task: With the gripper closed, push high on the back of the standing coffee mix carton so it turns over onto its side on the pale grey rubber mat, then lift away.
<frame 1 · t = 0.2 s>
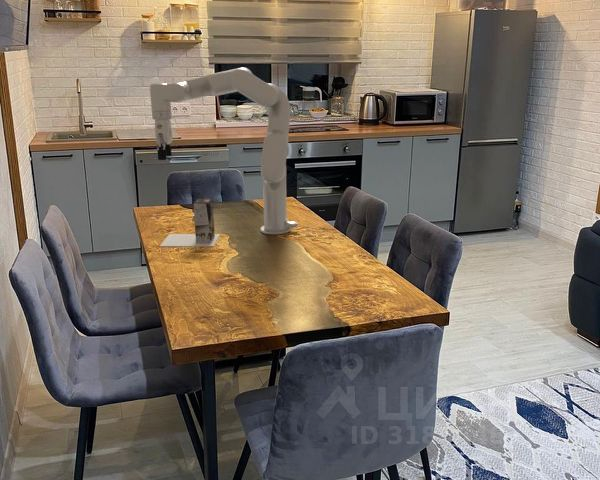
hand: (165, 157, 241), 31 cm above the table, tool pointing down, fingers open, 9 cm apart
coffee box: (205, 240, 237), resting on mat
mat: (190, 240, 237), on the table
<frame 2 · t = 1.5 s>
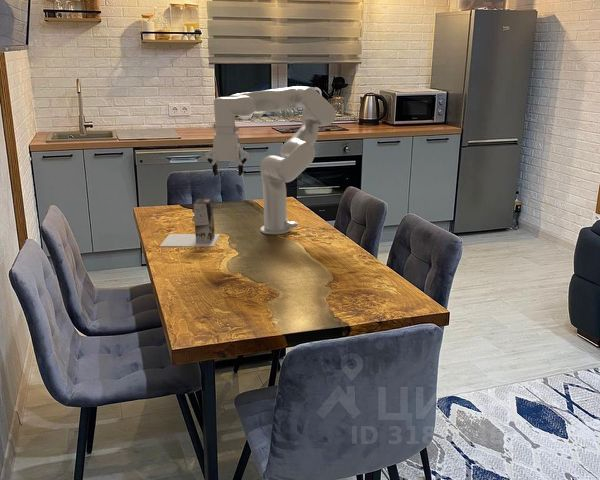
hand: (228, 175, 230), 26 cm above the table, tool pointing down, fingers open, 9 cm apart
nothing on the table moved.
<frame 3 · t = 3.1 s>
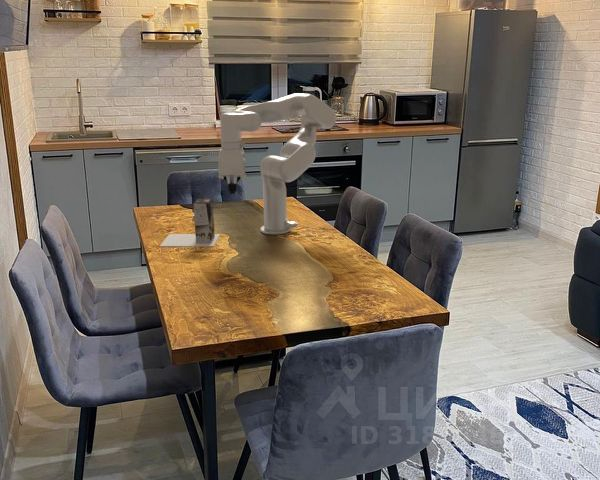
hand: (232, 193, 231), 19 cm above the table, tool pointing down, fingers closed
nothing on the table moved.
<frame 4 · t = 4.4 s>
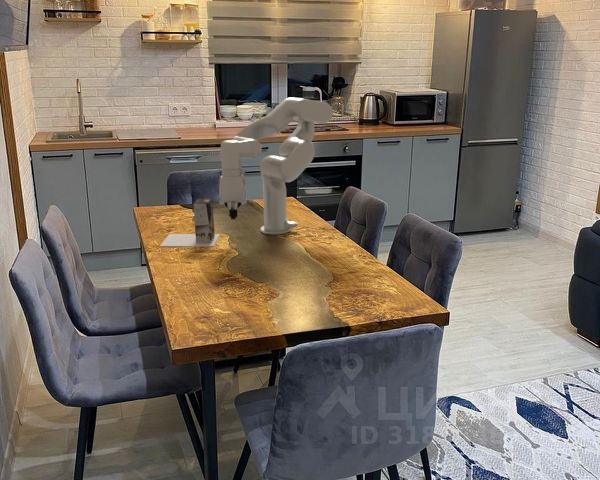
hand: (233, 218, 234), 9 cm above the table, tool pointing down, fingers closed
nothing on the table moved.
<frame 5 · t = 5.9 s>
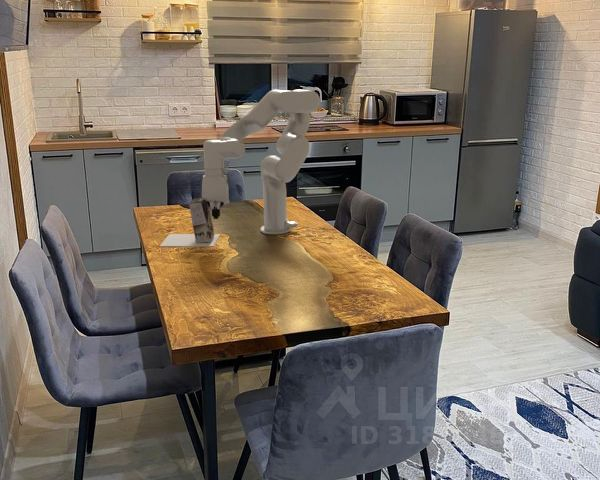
hand: (216, 218, 234), 9 cm above the table, tool pointing down, fingers closed
coffee box: (205, 239, 237), resting on mat, touching gripper
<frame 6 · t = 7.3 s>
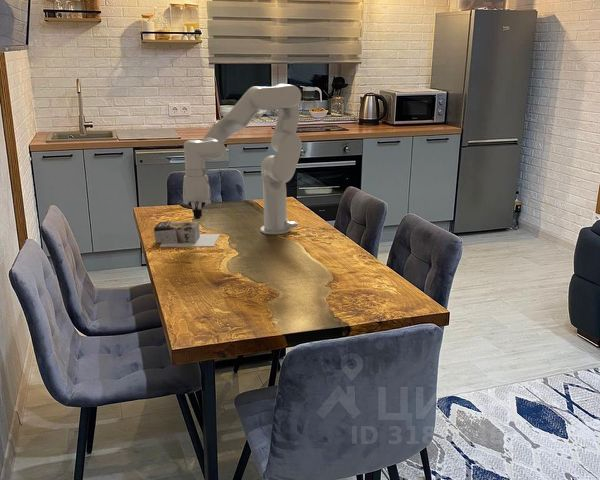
hand: (197, 218, 234), 9 cm above the table, tool pointing down, fingers closed
coffee box: (198, 232, 236), point 3 cm above the table, touching mat
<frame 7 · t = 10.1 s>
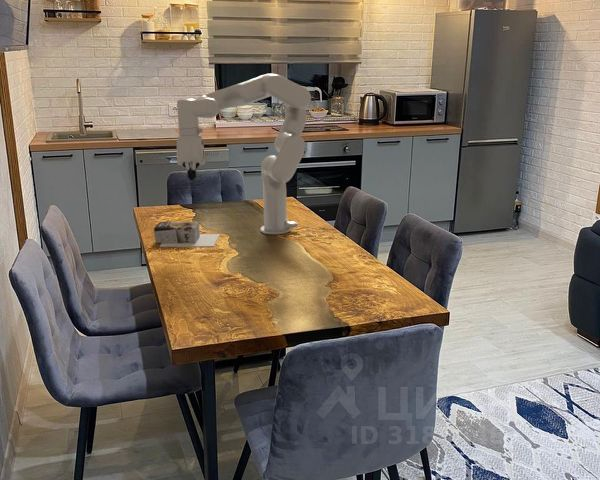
hand: (192, 179, 230), 25 cm above the table, tool pointing down, fingers closed
nothing on the table moved.
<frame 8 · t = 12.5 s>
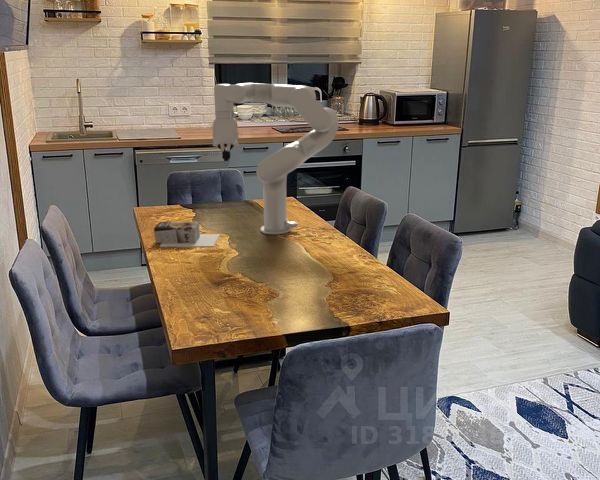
hand: (226, 160, 245), 29 cm above the table, tool pointing down, fingers closed
nothing on the table moved.
at the end: coffee box tilted 90°; coffee box inside the target area (3.6 cm from its centre), point 3.5 cm above the table; coffee box touching mat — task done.
